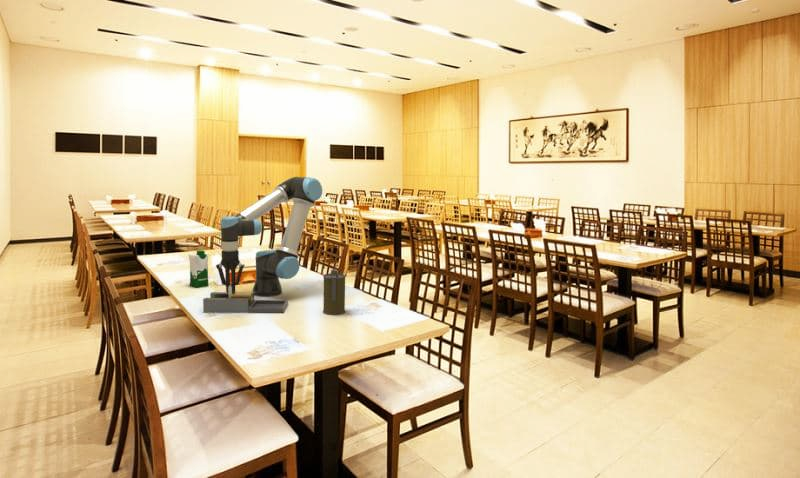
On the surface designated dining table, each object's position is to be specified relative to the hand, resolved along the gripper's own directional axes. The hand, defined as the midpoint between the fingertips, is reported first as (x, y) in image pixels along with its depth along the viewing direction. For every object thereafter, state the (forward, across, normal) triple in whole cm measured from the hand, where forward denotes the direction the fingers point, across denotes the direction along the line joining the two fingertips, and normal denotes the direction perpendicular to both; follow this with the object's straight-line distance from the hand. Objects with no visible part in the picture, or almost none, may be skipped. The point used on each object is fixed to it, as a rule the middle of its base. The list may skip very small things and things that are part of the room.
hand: (230, 299), depth 235 cm
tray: (+4, -17, 0) cm, 18 cm away
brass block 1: (+1, -3, 0) cm, 3 cm away
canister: (+5, -48, +4) cm, 49 cm away
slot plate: (+4, +1, 0) cm, 4 cm away
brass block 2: (+1, -8, 0) cm, 8 cm away
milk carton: (+5, +29, -44) cm, 53 cm away
